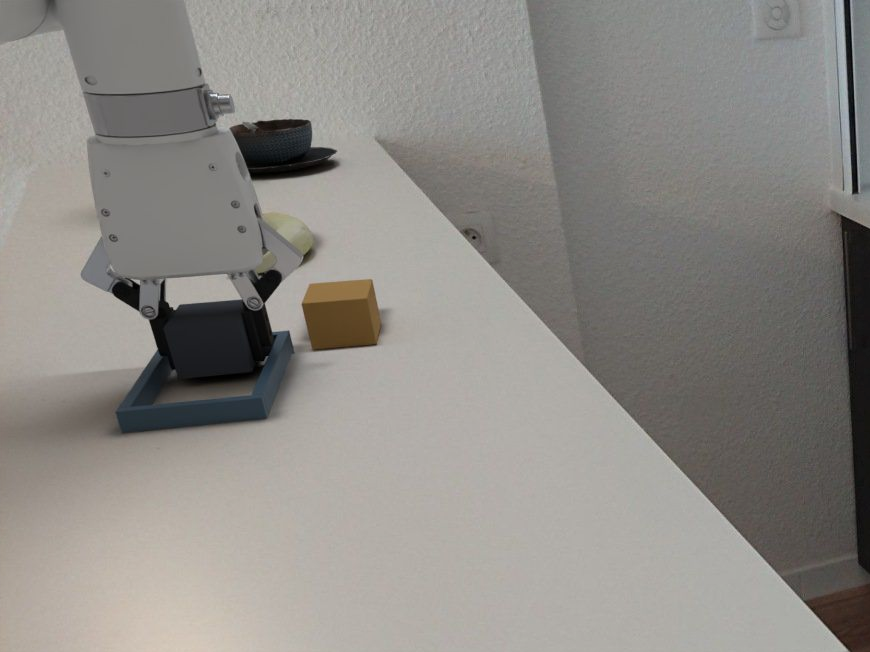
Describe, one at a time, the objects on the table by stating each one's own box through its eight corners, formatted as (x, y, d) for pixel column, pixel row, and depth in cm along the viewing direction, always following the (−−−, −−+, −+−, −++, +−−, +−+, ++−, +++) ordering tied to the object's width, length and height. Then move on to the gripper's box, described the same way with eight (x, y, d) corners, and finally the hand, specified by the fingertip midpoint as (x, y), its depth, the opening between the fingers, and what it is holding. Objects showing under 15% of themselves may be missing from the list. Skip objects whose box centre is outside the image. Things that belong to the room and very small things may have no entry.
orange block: (376, 344, 108) (367, 298, 106) (312, 350, 106) (301, 303, 105) (381, 323, 113) (372, 278, 111) (319, 328, 111) (309, 283, 110)
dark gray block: (252, 372, 97) (238, 321, 95) (178, 379, 95) (162, 327, 94) (263, 347, 102) (250, 298, 100) (193, 353, 100) (179, 304, 99)
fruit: (324, 235, 139) (317, 205, 138) (307, 271, 127) (299, 238, 125) (251, 240, 137) (243, 209, 136) (227, 278, 125) (218, 244, 123)
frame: (270, 430, 91) (261, 397, 90) (125, 445, 89) (114, 411, 87) (296, 359, 104) (289, 330, 103) (171, 371, 102) (162, 341, 101)
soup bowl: (363, 159, 176) (351, 103, 172) (283, 184, 162) (269, 123, 158) (269, 154, 178) (256, 98, 175) (182, 177, 165) (166, 117, 161)
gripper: (291, 100, 96) (345, 334, 104) (29, 112, 91) (108, 355, 99) (278, 117, 89) (336, 364, 98) (-5, 130, 85) (82, 389, 93)
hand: (220, 357), depth 98 cm, fingers closed on dark gray block, 4 cm apart
